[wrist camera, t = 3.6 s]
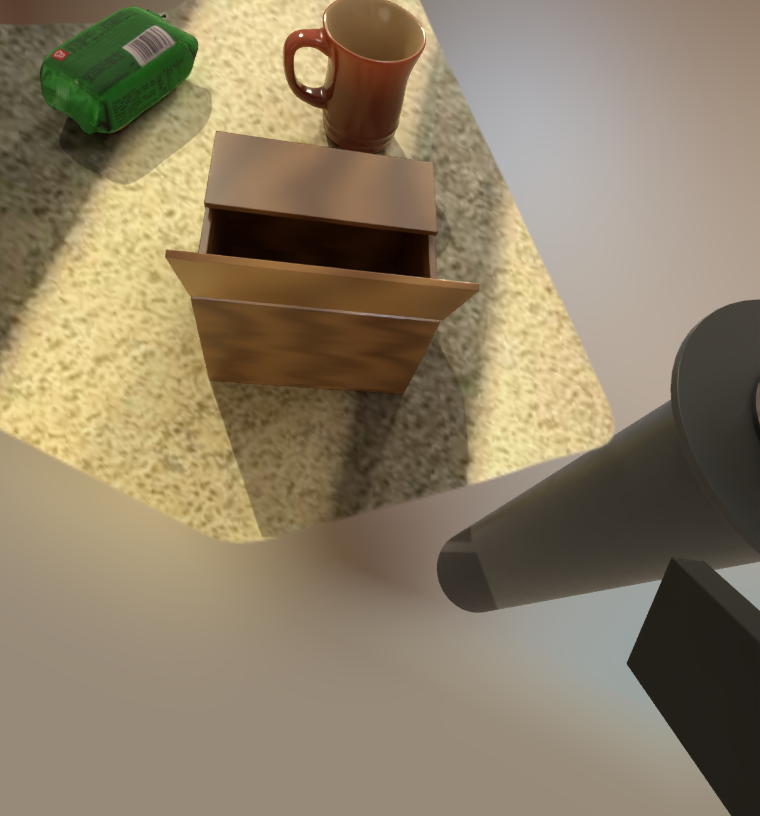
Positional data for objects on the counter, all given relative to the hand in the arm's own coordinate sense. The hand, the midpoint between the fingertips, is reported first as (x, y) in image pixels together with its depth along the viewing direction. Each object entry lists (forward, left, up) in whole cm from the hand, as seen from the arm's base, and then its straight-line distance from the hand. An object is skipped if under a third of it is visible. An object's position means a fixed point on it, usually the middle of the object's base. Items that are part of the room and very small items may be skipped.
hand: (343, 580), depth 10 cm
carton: (0, -24, -27) cm, 36 cm away
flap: (0, -17, -13) cm, 21 cm away
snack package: (+18, -47, -28) cm, 57 cm away
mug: (-2, -46, -27) cm, 54 cm away
